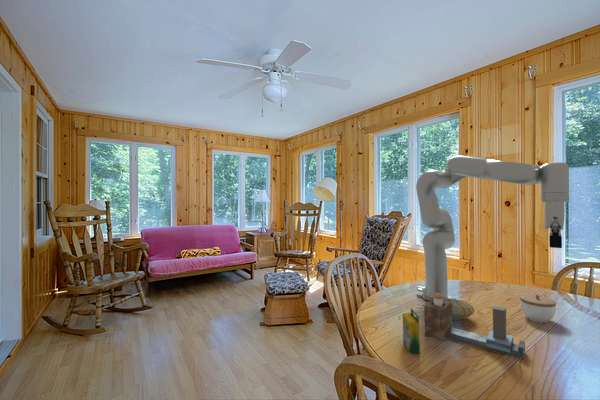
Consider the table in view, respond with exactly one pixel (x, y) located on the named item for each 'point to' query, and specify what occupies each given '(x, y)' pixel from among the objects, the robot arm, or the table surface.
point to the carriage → (499, 331)
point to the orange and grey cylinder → (438, 299)
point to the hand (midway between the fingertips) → (555, 245)
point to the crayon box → (411, 332)
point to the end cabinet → (437, 319)
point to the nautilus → (457, 308)
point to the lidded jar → (538, 307)
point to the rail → (483, 342)
